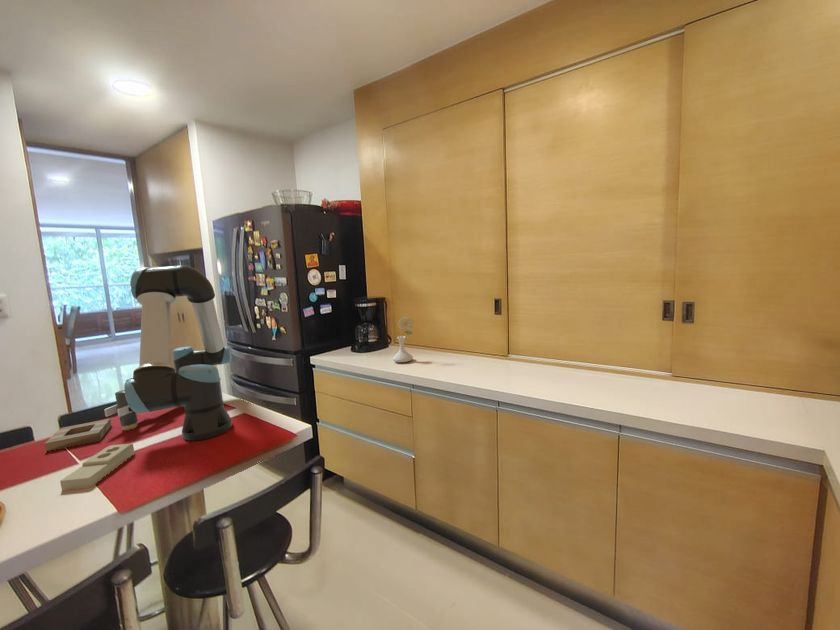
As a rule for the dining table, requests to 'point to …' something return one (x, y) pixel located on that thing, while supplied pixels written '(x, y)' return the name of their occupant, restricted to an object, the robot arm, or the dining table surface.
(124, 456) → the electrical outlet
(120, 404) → the plug
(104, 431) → the socket plate
